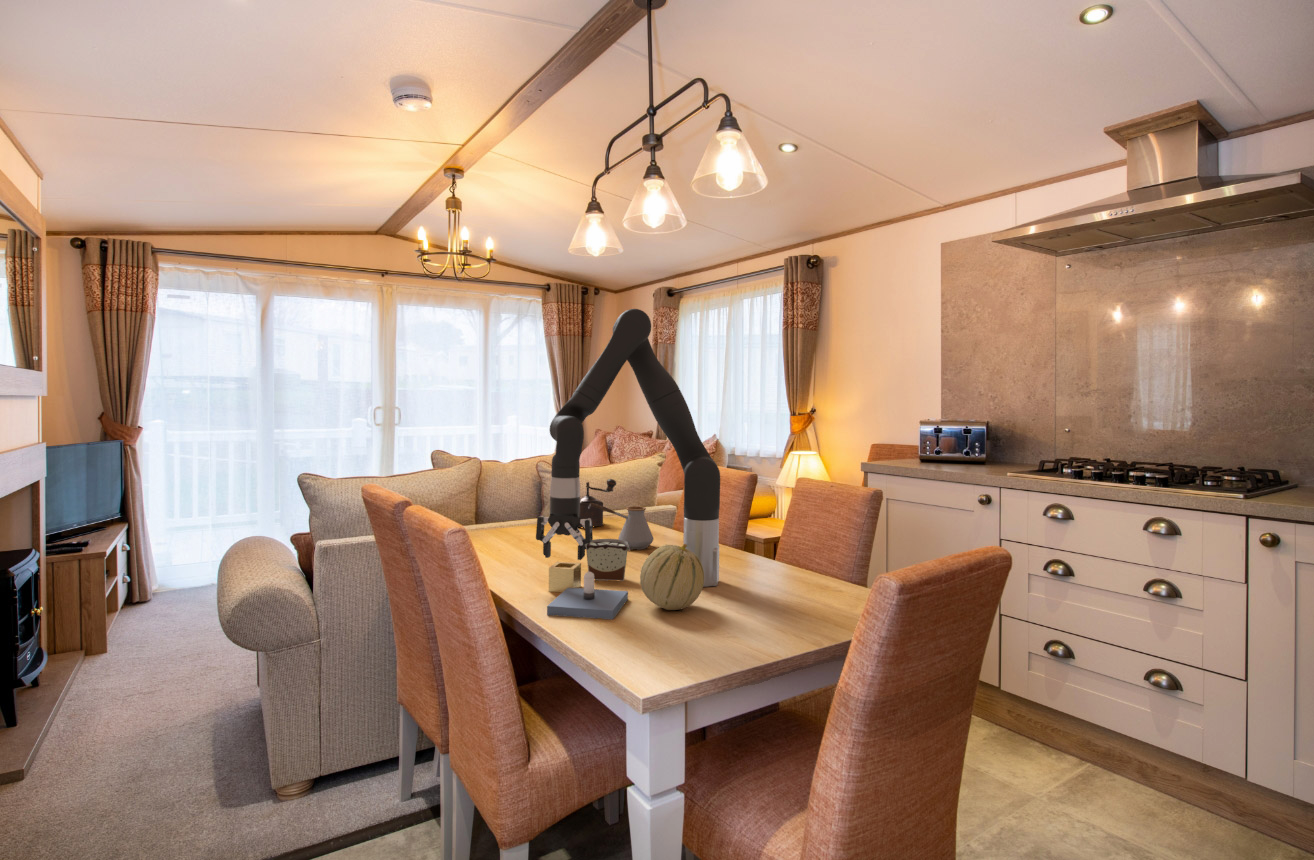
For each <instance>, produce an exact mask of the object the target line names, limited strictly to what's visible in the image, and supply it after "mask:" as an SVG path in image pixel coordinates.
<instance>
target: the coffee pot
mask: <svg viewBox="0 0 1314 860" xmlns="http://www.w3.org/2000/svg"><path fill="white" fill-rule="evenodd" d="M591 505H592V506H595V507H596V508H597V507H598V508H600V509H601V510H603V512H607V513H609V514H613V515H616V516H618V517H621V518H623V519H625V522H624V524H623V526H622V529H621V531H620V533H619V536H618V539H619V540H624V541H626V542H628V545H629V549H630V550H633V549H637V550H645V549H648V547H649V546H650V545H652V543H653V542H654V536H653V533H652V531H651V528H650V526H649V523H648V522H647V519H646V516H645V511H646V510H647V508H646V507H645V506H636V505H635V506H628V507H626V508H625V509H626V510H627V513H628V514H627V515H625V514H622V513H619V512H616V511H615V510H612V509H611V508H608V507H606V506H604V505H603V506H599V505H598V504H594V503H590V504H589V506H591ZM589 508H590V507H588V509H589Z"/></svg>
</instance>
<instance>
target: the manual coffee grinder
mask: <svg viewBox="0 0 1314 860" xmlns="http://www.w3.org/2000/svg"><path fill="white" fill-rule="evenodd" d="M606 485H607V487H606V489H604V488H603V489H602V488H600V487H599V488H598V487H592V486H590V481H586V482H585V488H586V495H583V496H582V497H580V518H581V519H588V518H591V519H592V528H594V527H593V526H603V527H604V511H603V510H601V509H600V508H598V507H597V508H596V507H595V506H592V505H591V506H589V504H590V503H594V504H598V505H599V506H604V502H603V501H601V500H600V499H599V498H596V497H595V496H592V495H590V490H593V491H599V492H602V493H603V492H604V493H611V492H614V488H615V486H616V485H617V481H616V480H615V479H612V478H609V479H607V480H606ZM588 507H590V508H589V509H588ZM579 527H583V525H582V524H580V525H579Z"/></svg>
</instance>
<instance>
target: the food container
mask: <svg viewBox="0 0 1314 860" xmlns="http://www.w3.org/2000/svg"><path fill="white" fill-rule="evenodd" d="M630 551H631V549H629V545H628V542H626V541H624V540H619V539H616V538H597V539H593V540H592V541H591V542H590V543H587V544H585V554H586V561H587V572H592V573H593V574H594V579H595V580H594V581H608V580H620V581H619V582H625V576H626V575H625V574H626V566H627V559H628V558H627V557H628V552H630Z"/></svg>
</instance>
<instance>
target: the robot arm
mask: <svg viewBox="0 0 1314 860" xmlns="http://www.w3.org/2000/svg"><path fill="white" fill-rule="evenodd" d="M651 321H652V320H651V318H650V316H649V315H648V314H647V313H646V312H645V311H644V310H641V309H639V308H629V309H627V310H624V311H623V312H622V313H621V314H620V315H619V316H618V317H617V319H616V321H614V323H613V326H612V334H611V337H610V339H609V341H608V343H607V344H606V346H605V348H604V349H603V351H602V352H601V354H600V355H599V357H598V358H597V360H595V362H594V363H593V364H592V366H591V367H590V369H588V370H587V372H586V374H585V375H584V377H583V378H582V380H581V381H580V383H579V384H578V386H577V387H576V389H575V390H574V391H573V393H572V395H571V396H570V398H569V399H568V400H567V402H565V404H564V405H563V406H562V407H561V408H560V409H559V410H558V411H557V413H556V414H555V415H554V417H553V419H552V420H551V422H550V425H549V435H550V436H551V438H552V439H553V440H554V441H556V445H555V454H554V455H553V456H552V457H551V475H550V476H551V479H550V483H549V484H550V486H549V516H545V515H540V516H538V517H537V519H536V530H535V531H536V532H535V540H537V541H541V542H542V543H543V544H542V545H543V547H542V549H543V550H542V553H543V556H545V558H547V559H549V558H551V556H552V555H551V554H552V542H551V539H552V538H553V537H554V536H555V535H557V536H561V535H564V536H567V537H568V536H572V538H573V539H574V540H575V541H576V543H577V544H578V545H577V561H581V560H582V559H584V557H585V556H586V549H585V544H587V543H590V542H591V541H592V540H594V539H593V527H592V519H591V518H588V519H581V518H580V498H581V481H580V469H581V468H580V459H581V455H582V450H583V446H584V438H585V432H584V425H583V422H584V421H585V420H586V418H588V417H589V416H590V415H592V414H593V413H595V411H596V410H597V408H598V407H599V405H600V404H601V403H602V401H603V399H604V398H605V396H606V395H607V394H608V391H609V390H610V388H611V386H612V384H614V381H615V379H616V378H617V376H618V375H619V373H620V371H621V370H622V368H623V367H624V365H625V364H626V362H628V363H629V366H630V368H631V369H632V371H633V373H634V375H635V377H636V380H637V382H638V384H639V385H638V386H639V388H640V389H641V392H642V394H643V396H644V398H645V400H646V402H647V403H646V404H647V405H648V407H649V408H650V411H651V413H652V415H653V417H654V419H655V421H656V423H657V424H658V426H659V428H660V429H661V431H662V432H663V434H664V435H665V436H666V438H667V439H668V440H669V442H670V444H671V446H672V447H673V448H674V450H675V453H676V455H677V457H678V460H679V463H680V466H681V469H682V472H683V474H684V477H683V545H684V544H686V545H687V547H686V549H688V550H690V551H691V552H693V553H694V554H695V555H696V556H697V557H698V559H699V560H700V562H701V564H702V566H703V570H704V585H703V588H705V587H717V586H718V584H719V581H720V545H719V540H720V538H719V535H720V533H719V531H720V508H721V506H720V505H721V504H720V503H721V501H720V500H721V471H720V468H719V467H718V464H717V463H716V462H715V460H714V459H713V458H712V456H711V454H710V453H709V452H708V450H707V448H706V447H705V444H703V441H702V440H701V438H700V436H699V433H698V431H697V427H696V426H695V422H694V419H693V417H692V414H691V411H690V408H689V406H688V404H687V401H686V399H685V397H684V395H683V392H682V390H681V389H680V387H679V386H678V384H677V382H676V380H675V379H674V377H672V375H671V374H670V373H669V371H667V369H666V368H665V367H664V366H663V365H662V363H661V362H660V361H659V360H658V358H657V356H656V354H655V352H654V349H653V348H652V345H651V343H650V340H649V336H650V335H651V331H652V322H651ZM547 523H548V525H549V526H550V529H549V530H548V532H547V533H546V535H545V526H546V525H547ZM580 524H582V525H583V527H584V528H583V529H584V536H583V533H582V532H581V530H580V528H578V527H579V525H580ZM683 545H682V546H683Z"/></svg>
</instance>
